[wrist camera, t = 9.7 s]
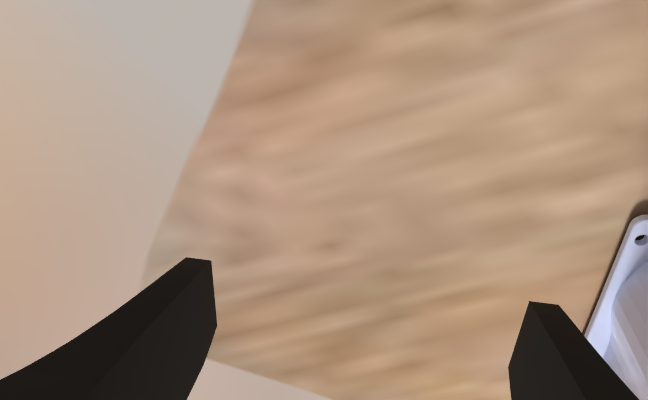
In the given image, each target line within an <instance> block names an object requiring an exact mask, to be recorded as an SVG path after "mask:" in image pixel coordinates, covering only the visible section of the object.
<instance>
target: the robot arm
mask: <svg viewBox="0 0 648 400" xmlns="http://www.w3.org/2000/svg"><path fill="white" fill-rule="evenodd" d="M639 235H645V236H644V238H642V239H640V240H635V238H636V237H637V236H639ZM216 327H217V320H216V309H215V298H214V287H213V276H212V265H211V261H210V260H202V259H194V258H185V259H184V260H182V261H181V262H179V263H178V264H177V265H175V266H174V267H173V268H172V269H170V270H169V271H168V272H166V273H165V274H164V275H162V276H161V277H160V278H159V279H157V280H156V281H155V282H153V283H152V284H151V285H149V286H148V287H147V288H145V289H144V290H143V291H142V292H140V293H139V294H138V295H136V296H135V297H133V298H132V299H131V300H129V301H128V302H127V303H125V304H124V305H123V306H121V307H120V308H119V309H117V310H116V311H114V312H113V313H112V314H110V315H109V316H107V317H106V318H104V319H103V320H101V321H100V322H98V323H97V324H95V325H94V326H92V327H91V328H90V329H88V330H86V331H85V332H83V333H82V334H80V335H79V336H77V337H76V338H74V339H73V340H71V341H70V342H68V343H66V344H65V345H63V346H61V347H60V348H58V349H56V350H55V351H53V352H51V353H49V354H48V355H46V356H44V357H42V358H41V359H39V360H37V361H35V362H34V363H32V364H30V365H28V366H27V367H25V368H23V369H21V370H19V371H17V372H15V373H13V374H11V375H9V376H7V377H5V378H3V379H1V380H0V400H187V398H188V396H189V393H190V392H191V390H192V388H193V385H194V383H195V381H196V379H197V377H198V375H199V373H200V371H201V369H202V366H203V365H204V362H205V359H206V356H207V354H208V351H209V348H210V345H211V342H212V339H213V336H214V333H215V330H216ZM508 369H509V379H510V390H511V399H512V400H648V215H640V216H637V217H636V218H634V219H633V220H632V221H631V223H630V224H629V227H628V229H627V232H626V234H625V237H624V239H623V242H622V244H621V246H620V249H619V251H618V254H617V256H616V259H615V261H614V264H613V266H612V268H611V271H610V273H609V276H608V278H607V281H606V283H605V286H604V288H603V291H602V293H601V295H600V298H599V300H598V303H597V305H596V308H595V310H594V313H593V315H592V317H591V320H590V322H589V325H588V327H587V330H586V332H585V335H583V334H582V333H581V332H580V330H579V329H578V328H577V327H576V325H575V324H574V323H573V322H572V321H571V319H570V318H569V317H568V316H567V314H566V313H565V312H564V311H563V310H562V309H561V307H560V306H559V305H554V304H547V303H539V302H531V301H529V304H528V307H527V310H526V313H525V316H524V320H523V323H522V326H521V329H520V332H519V335H518V338H517V342H516V345H515V348H514V351H513V354H512V357H511V360H510V363H509V367H508Z"/></svg>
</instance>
